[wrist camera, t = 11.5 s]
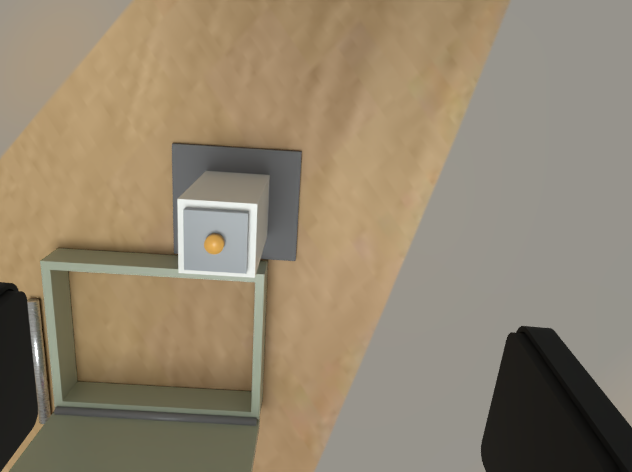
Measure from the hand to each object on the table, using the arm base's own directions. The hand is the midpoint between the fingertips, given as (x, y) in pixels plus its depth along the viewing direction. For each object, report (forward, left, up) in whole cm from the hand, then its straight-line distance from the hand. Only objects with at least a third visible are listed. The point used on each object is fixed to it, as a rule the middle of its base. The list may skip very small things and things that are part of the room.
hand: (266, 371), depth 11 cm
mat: (+6, -5, -33) cm, 34 cm away
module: (+6, -5, -33) cm, 34 cm away
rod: (+21, -22, -33) cm, 45 cm away
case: (+17, -11, -33) cm, 39 cm away
